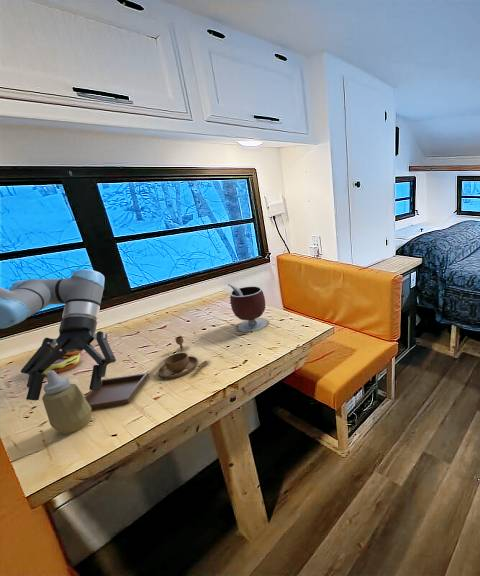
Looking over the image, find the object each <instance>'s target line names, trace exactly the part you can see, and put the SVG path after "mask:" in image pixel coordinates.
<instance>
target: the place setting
mask: <svg viewBox="0 0 480 576" xmlns="http://www.w3.org/2000/svg"><path fill="white" fill-rule="evenodd" d="M174 340H175V343H176V344H177V345H179V349H180V350H179V351H180V352H178V353H174V354H171V355H169V356H167V357H166V358H165V359H164V360H163V361H162V362H164V364H162V365H161V366H160V367H159V368H158V369H157V373H158V375H159V376H160V377H162V378H164V379H175V378H179V377H182V376H185V375H187V374H189V373H191V372H192V371H193V370H195V369H196V368H197V366H198V364H199V359H198V357H195V356H192V355H189V354H188V353H186V352H183V351H185V348H184V346H183V344H184V337H183V336H182V335H178V336H175V338H174ZM207 363H208V361H207V360H204V361H203V362H201V363H200V365H199V368H198V369H197V370H196V371H195V372H194V373H193V375H192V376H193V377H194V376H196V375H197V374H198V372H199V371H200V370H201V368H203V367H205V366H206V365H207ZM166 370H168V371H172V372H179V373H175V374H168V375H167V374H166V375H165V374H164V372H165V371H166ZM180 371H182V372H180Z"/></svg>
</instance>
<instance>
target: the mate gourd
mask: <svg viewBox="0 0 480 576" xmlns="http://www.w3.org/2000/svg"><path fill="white" fill-rule="evenodd" d="M227 286H229V287H230V288H231V289H232V290H231V291H230V292H229V303H230V306H231V307H230V308H231V310H232V313H233V315H234V316H235V317H236V318H238V319H239V320H241V321H243V322H241V323H240V324H239V325H238V327H237V329H238V331H240V332H243V333H252V332H256V331H259V330H261V329H263V328H265V327H266V326H267V325H268V321H267V320H266V319H264V318H263V319H262V318H260V317H262V315H263V314H264V312H265V311H266V298H265V294H264V291H263V288H262V287H260V286H257V285H256V286H255V285H249V286H242V287H237V286H236V285H233V284H231V283H228V284H227Z"/></svg>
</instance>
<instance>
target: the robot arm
mask: <svg viewBox="0 0 480 576" xmlns="http://www.w3.org/2000/svg"><path fill="white" fill-rule="evenodd" d="M105 279H106V278H105V275H104V274H102V273H101V272H99V271H97V270H93V269H87V268H86V269H85V268H84V269H83V268H82V269H78V270H74V271H73V272H72V274H71V276H70V277H67V278H44V279H43V278H39V279H37V278H31V279H29V278H28V279H23V280H16V281H14V282H13V283H12V284H11V286H9V288H8V289H6V288H3V287H1V286H0V329H1V330H2V329H3V330H4V329H7V328H10V327H13V326H15V325H17V324H20V323H22V322H24V321H25V320H26V319H28V318H29V317H31V316H32V315H35V314H36V313H38V312H40V311H41V310H44V309H45V308H47V307H48V306H51V305H64V307H63V311H62V316H61V318H62V319H61V320H60V324H59V327H58V328H59V329H58V332H59V334H58V337H56V338H51V337H44V338H43V340H42V343H41V344H40V347H39V348H38V349H37V350H36V351H35V352H34V354H33V355H32V356H31V358H29V360H28V361H27V362H26V364H25V365H24V366H23V367H22V368H21V369H20V373H21V374H27V375H28V379H27V383H26V387H27V388H28V390H27V394H26V398H25V400H27V401H39V399H40V395H41V391H42V389H43V384H44V379H45V376H46V375H45V374H43V372H44V371H45V370H46V369H47V368H49V367H50V366H51V365H52V364H53V363H54V362H55V361H56V360H57V359H59V358H60V357H61V356H62V355H65V354H66V353H67V352H74V351H82V352H83V351H85V352H86V353H87V354H88V355H89V356H90V358H92V359H93V361H95V363H96V364H93V367H92V372H91V378H90V383H89V388H88V389H89V391H90V390H95V391H98V390H99V389H100V384H101V380H102V378H105V377H106V373H107V367H108V366H109V364H112V363H116V362H117V359H116V356H115V354H114V351H113V350H112V348H111V346H110V343H109V342H108V334H107V333H106V332H103V331H102V330H101V331H100V330H99V331H97V325H98V320H99V313H100V310H101V309H100V307H101V303H102V298H103V293H104V290H105ZM96 331H97V332H96ZM93 341H96V342H97V345H98V347H99V349H100V351H101V353H102V354H101V353H99V351H98V350H97V349H96V348H95V347H94V345H93V344H91V343H92V342H93ZM54 346H55V347H54ZM53 347H54V348H53ZM60 349H62V350H60ZM51 350H52V351H51Z"/></svg>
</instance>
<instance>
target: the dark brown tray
mask: <svg viewBox="0 0 480 576" xmlns="http://www.w3.org/2000/svg"><path fill="white" fill-rule="evenodd" d="M149 378H150V374H149V372H143V373H137V374H131V375H123V376H117V377H109V378H103V379H102V378H101V384H100V389H99V390H98V391H95V390H89V391H88V392H87V393H86V394H85V395H83V396H84V397H85V399H86V400H87V402H88V403H89V405H90V407H91V411H92V410H96V409H97V410H98V409H102V408H103V409H104V408H109V407H115V406H122V405H127V404H130V402H131V401H132V400H133V399H134V398H135V396H136V395H137V394H138V392H140V390H141V388H142V387H143V386H144V384H145V383H146V382H147V380H148V379H149Z"/></svg>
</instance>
